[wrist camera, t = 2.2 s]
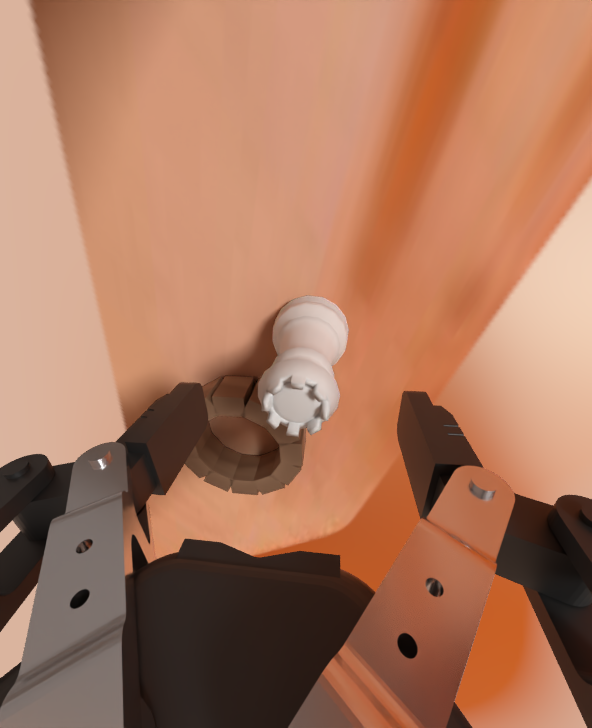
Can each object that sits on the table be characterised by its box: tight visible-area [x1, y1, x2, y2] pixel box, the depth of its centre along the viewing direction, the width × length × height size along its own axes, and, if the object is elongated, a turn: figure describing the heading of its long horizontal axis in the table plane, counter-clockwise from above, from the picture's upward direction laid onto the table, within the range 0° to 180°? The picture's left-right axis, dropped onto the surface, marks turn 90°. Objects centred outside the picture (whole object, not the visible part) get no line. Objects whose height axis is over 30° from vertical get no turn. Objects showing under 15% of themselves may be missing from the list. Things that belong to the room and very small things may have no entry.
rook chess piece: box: [258, 295, 349, 437], centre depth 14 cm, size 4×4×8 cm
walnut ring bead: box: [184, 376, 306, 495], centre depth 21 cm, size 9×9×2 cm
